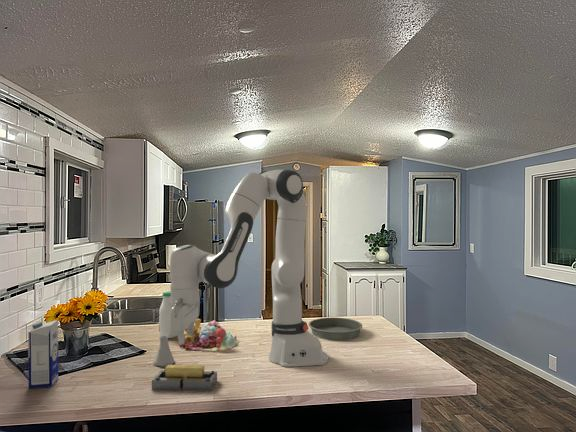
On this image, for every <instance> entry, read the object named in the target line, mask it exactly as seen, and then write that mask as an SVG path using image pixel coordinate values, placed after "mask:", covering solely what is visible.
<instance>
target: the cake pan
mask: <svg viewBox="0 0 576 432" xmlns="http://www.w3.org/2000/svg"><path fill="white" fill-rule="evenodd" d="M308 328H310V329H311V334H312V335H313V336H315V337H316V338H319V339H323V340H328V341H329V340H331V341H344V340H345V341H347V340H352V339H356V338H357V337H358V336H359V335H360V331H361V329H362V328H363V324H362V323H361V322H359V320H355V319H351V318H350V319H349V318H344V317H321V318H316V319H313V320H311V321H309V322H308Z"/></svg>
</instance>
